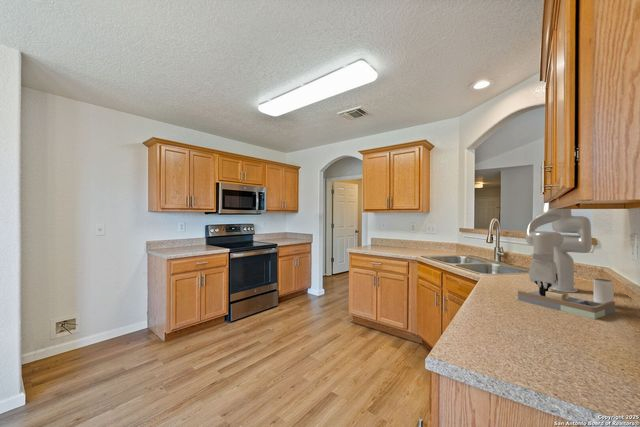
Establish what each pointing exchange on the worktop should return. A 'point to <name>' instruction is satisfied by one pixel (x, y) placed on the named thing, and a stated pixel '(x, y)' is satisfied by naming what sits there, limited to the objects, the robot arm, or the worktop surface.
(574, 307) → the trap deck
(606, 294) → the can
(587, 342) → the worktop surface
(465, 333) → the worktop surface
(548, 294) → the block
